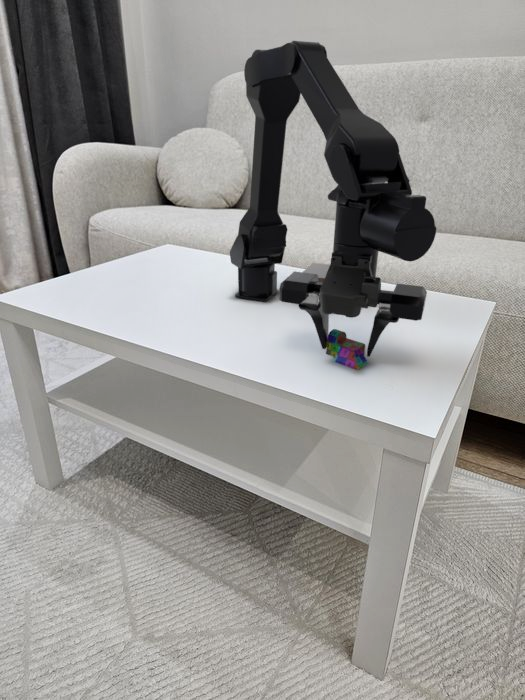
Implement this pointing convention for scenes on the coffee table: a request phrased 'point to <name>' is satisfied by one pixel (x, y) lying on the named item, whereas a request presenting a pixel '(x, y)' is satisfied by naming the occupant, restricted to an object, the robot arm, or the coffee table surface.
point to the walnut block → (318, 270)
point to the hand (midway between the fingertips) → (346, 351)
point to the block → (345, 350)
